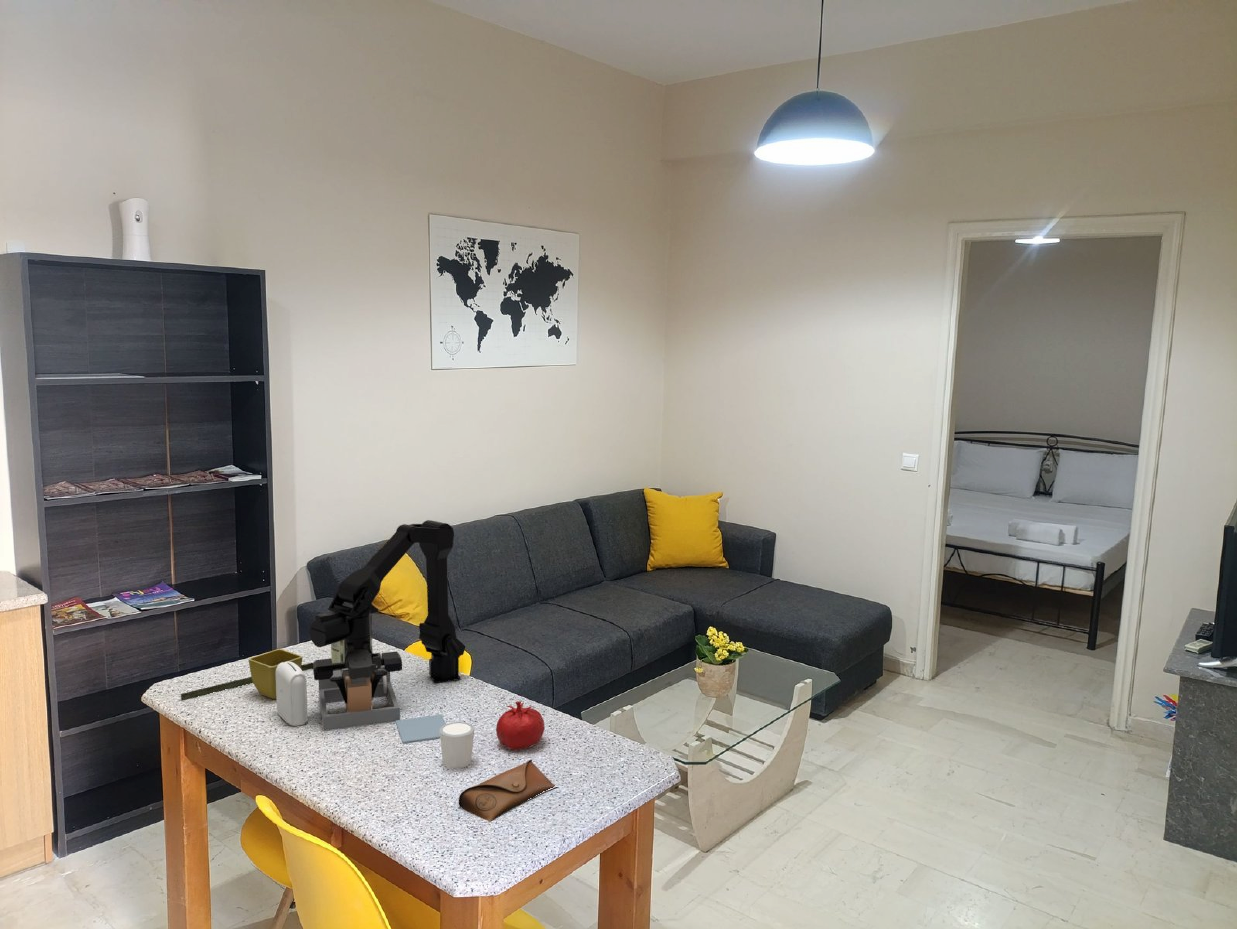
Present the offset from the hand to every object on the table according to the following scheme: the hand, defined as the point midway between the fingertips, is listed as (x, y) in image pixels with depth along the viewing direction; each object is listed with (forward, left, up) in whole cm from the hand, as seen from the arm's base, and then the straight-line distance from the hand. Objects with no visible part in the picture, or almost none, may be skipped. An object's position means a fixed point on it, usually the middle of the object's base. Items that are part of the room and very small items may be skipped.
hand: (358, 702), depth 198 cm
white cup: (-16, +31, -2) cm, 35 cm away
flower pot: (+17, -16, -2) cm, 23 cm away
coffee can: (-1, -28, -2) cm, 28 cm away
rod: (+23, -25, -3) cm, 34 cm away
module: (0, 0, -2) cm, 2 cm away
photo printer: (+14, -1, -2) cm, 14 cm away
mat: (-12, +14, -2) cm, 19 cm away
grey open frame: (0, 0, -2) cm, 2 cm away
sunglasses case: (-23, +47, -3) cm, 53 cm away
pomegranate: (-30, +27, -2) cm, 40 cm away
